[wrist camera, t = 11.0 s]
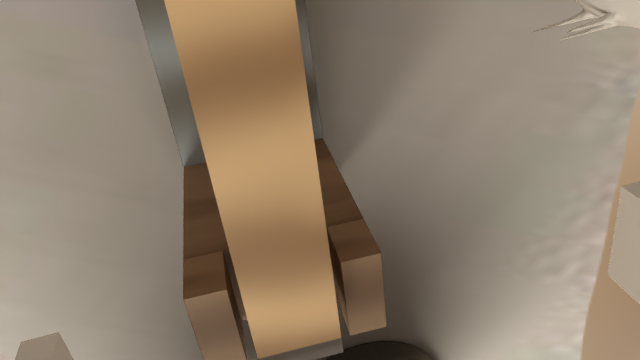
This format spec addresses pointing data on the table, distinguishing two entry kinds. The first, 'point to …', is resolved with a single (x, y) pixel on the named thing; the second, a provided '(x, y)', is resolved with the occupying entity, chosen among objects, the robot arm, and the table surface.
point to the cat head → (604, 15)
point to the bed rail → (262, 167)
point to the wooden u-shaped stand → (206, 225)
